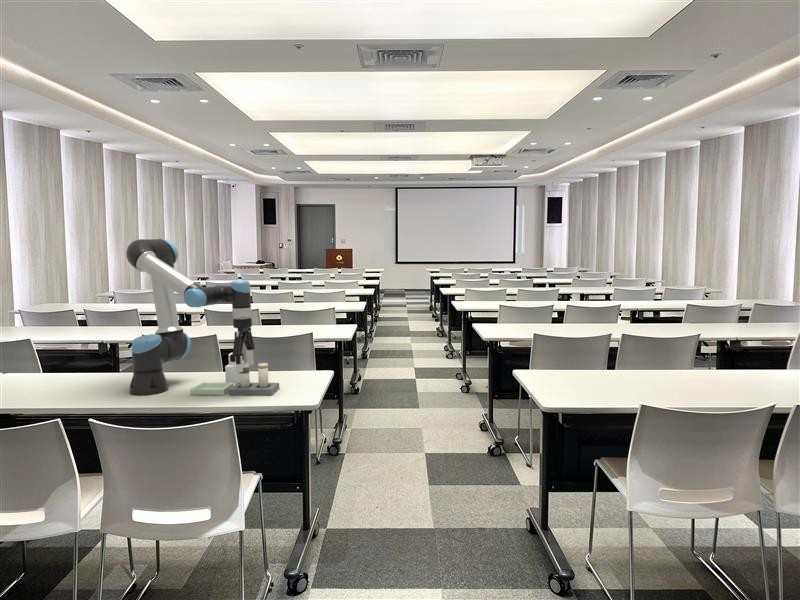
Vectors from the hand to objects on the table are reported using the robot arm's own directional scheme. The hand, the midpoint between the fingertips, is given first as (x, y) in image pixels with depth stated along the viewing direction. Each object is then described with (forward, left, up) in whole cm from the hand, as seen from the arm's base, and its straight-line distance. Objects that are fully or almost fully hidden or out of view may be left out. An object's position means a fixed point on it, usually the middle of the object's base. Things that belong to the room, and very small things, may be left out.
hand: (244, 368), depth 243 cm
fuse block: (+4, 0, -10) cm, 11 cm away
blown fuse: (0, 0, -10) cm, 10 cm away
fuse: (+8, 0, -10) cm, 13 cm away
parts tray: (-14, 0, -10) cm, 18 cm away
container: (-10, +19, -10) cm, 24 cm away
